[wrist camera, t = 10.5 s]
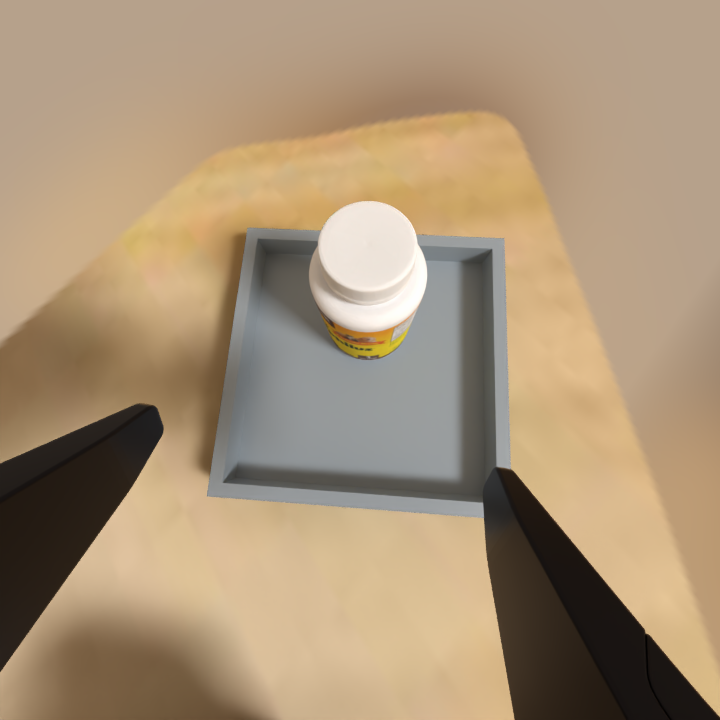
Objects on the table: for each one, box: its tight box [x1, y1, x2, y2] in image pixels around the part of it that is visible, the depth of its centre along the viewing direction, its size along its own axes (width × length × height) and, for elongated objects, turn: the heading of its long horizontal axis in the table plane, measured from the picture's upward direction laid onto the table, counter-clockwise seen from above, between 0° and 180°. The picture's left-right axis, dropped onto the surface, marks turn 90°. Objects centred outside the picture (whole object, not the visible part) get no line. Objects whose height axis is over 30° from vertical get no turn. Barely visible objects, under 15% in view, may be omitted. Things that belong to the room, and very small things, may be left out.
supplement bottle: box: [309, 201, 427, 360], centre depth 17 cm, size 6×6×10 cm
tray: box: [207, 228, 511, 518], centre depth 21 cm, size 18×18×2 cm
